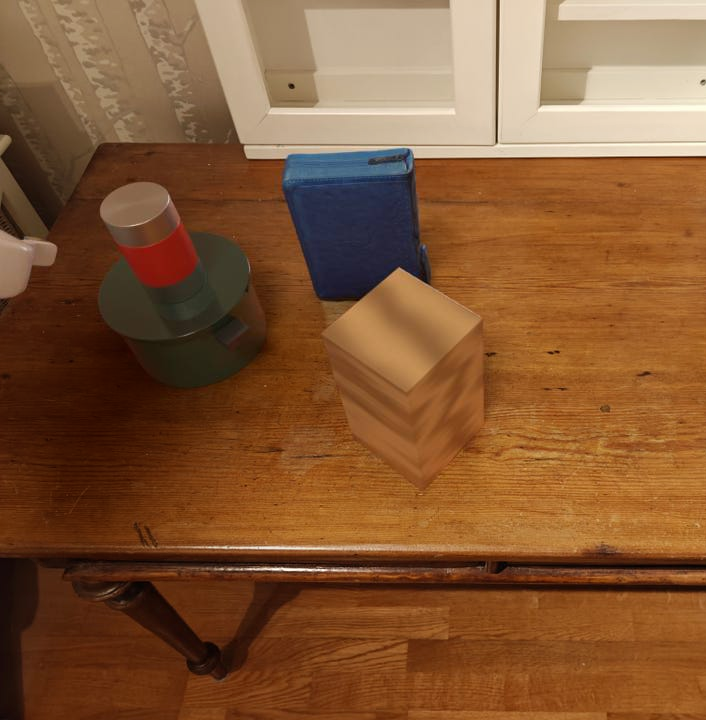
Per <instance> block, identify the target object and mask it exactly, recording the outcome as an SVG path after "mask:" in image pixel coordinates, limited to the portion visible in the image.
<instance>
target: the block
mask: <svg viewBox="0 0 706 720" xmlns="http://www.w3.org/2000/svg"><path fill="white" fill-rule="evenodd" d="M320 335H321V339H322V343H323V345H324V348H325V353H326V355H327V358H328V362H329V364H330V368H331V371H332V374H333V378H334V380H335V384H336V388H337V390H338V394H339V397H340V400H341V403H342V407H343V410H344V413H345V416H346V420H347V422H348V426H349V430H350V432H351V436H352V438H353V440H355V441H356V442H357V443H358V444H360V445H361V446H362V447H364V448H365V449H366V450H368V451H369V452H370V453H372V454H373V455H375V457H377V458H378V459H379V460H381V461H382V462H384V463H385V464H387V465H388V466H389V467H390V468H391V469H392V470H394V471H395V472H397V473H398V474H400V475H401V476H402V477H404V478H405V479H406V480H408V481H409V482H410V483H412V484H413V485H414V486H415V487H417V488H418V489H419V490H421V491H423V492H424V491H425V490H426V489H427V488H428V487H429V486H430V485H431V484H432V482H433V481H435V479H436V478H438V476H439V475H440V474H441V473H442V472H443V470H445V469H446V468H447V466H448V465H449V464H450V463H451V462H452V461H453V459H455V458H456V456H457V455H458V454H459V453H460V452H461V451H462V450H463V449H464V448H465V447H466V445H468V443H469V442H470V441H471V440H472V439H473V438H474V437H475V436H476V435H477V433H478V432H479V431H480V430H481V429H482V428H483V427H484V426H485V386H484V385H485V384H484V383H485V380H484V377H485V376H484V375H485V374H484V373H485V371H484V318H483V317H482V316H480V315H478V314H477V313H475V312H474V311H472V310H470V308H469V309H468V308H467V307H465V306H463V305H462V304H460V303H459V302H457V301H456V300H454V299H452V298H450V297H449V296H446V295H445V294H444V293H442V292H441V291H438V290H437V289H435V288H434V287H432V286H431V285H430V286H429V285H427V284H425V283H424V282H422V281H420V280H419V279H417V278H415V277H414V276H412V275H410V274H409V273H407V272H406V271H404V270H402V269H401V268H398V269H396V270H395V271H394V272H393V273H392V274H390V275H389V276H388V277H387V278H386V279H385V280H383V281H382V282H381V283H380V284H379V285H377V286H376V287H375V288H374V289H373V290H372V291H370V292H369V293H368V294H367V295H366V296H364V297H363V298H362V299H359V301H357V302H356V303H355V304H354V305H353V306H351V307H350V308H349V309H347V310H346V311H345V312H344V313H343V314H342V315H341V316H340V317H338V318H337V319H335V320H334V322H333V323H332V324H330V325H329V326H328V327H326V328H325V329H324V330H323V331H321V333H320Z"/></svg>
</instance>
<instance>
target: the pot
mask: <svg viewBox="0 0 706 720" xmlns="http://www.w3.org/2000/svg"><path fill="white" fill-rule="evenodd" d="M187 233H188V235H189V237H190V239H191V242H192V244H193V246H194V248H195V250H196V252H197V255H198V258H199V260H200V262H201V264H202V266H203V268H204V270H205V273H206V280H205V283H204V285H203V287H202V288H201V290H200V291H199V292H198V293H197V294H195V295H194V296H192V297H191V298H189V299H187V300H185V301H182V302H179V303H174V304H162V303H158V302H155V301H153V300H152V299H150V298H149V297H148V295H147V294H146V292H145V291H144V289H143V287H142V285H141V284H140V282H139V280H138V279H137V278H136V276H135V275H134V273H133V271H132V269H131V268H130V266H129V264H128V263H127V261H126V259H125V258H124V256H123V255H122V256H121V257H120V258H119V259H118V260H117V261H116V262H115V263H114V264H113V265H112V267H111V268H109V270H108V271H107V272H106V274H105V276H104V278H103V279H102V282H101V284H100V287H99V291H98V295H97V305H98V309H99V313H100V315H101V317H102V319H103V320H104V322H105V323H106V324H107V326H108V327H109V328H110V330H112V331H113V332H114V333H116V334H117V335H118V336H120V337H121V338H122V339H123V341H124V343H126V345H127V346H128V348H129V349H130V351H131V352H132V354H133V355H134V357H135V358H136V360H137V362H138V363H139V364H140V366H141V367H142V368H143V370H144V371H145V372H146V373H147V374H148V375H149V376H150V377H151V379H154V380H155V381H157V382H159V383H160V384H163V385H166V386H170V387H174V388H181V389H182V388H183V389H191V388H192V389H194V388H201V387H207V386H210V385H214V384H217V383H220V382H222V381H224V380H227V379H228V378H231V377H232V376H234V375H236V374H237V373H239V372H240V371H242V370H243V369H245V368H246V367H247V366H248V365H249V364H250V363H251V362H252V361H253V360H254V359H255V357H256V356H257V355H258V353H259V352H260V350H261V349H262V347H263V345H264V343H265V339H266V337H267V333H268V321H267V317H266V314H265V311H264V309H263V307H262V304H261V301H260V299H259V297H258V294H257V292H256V289H255V286H254V284H253V281H252V268H251V265H250V262H249V259H248V257H247V255H246V254H245V252H244V250H243V249H242V248H241V247H240V246H239V245H238V244H236V243H235V242H234V241H233V240H231V239H230V238H227V237H225V236H222V235H221V234H217V233H213V232H207V231H196V230H192V231H191V230H190V231H189V230H187Z"/></svg>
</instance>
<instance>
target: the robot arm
mask: <svg viewBox="0 0 706 720" xmlns="http://www.w3.org/2000/svg"><path fill="white" fill-rule="evenodd" d="M57 253H58V247H57V245H56V244H54V243H52V242H50V241H49V240H46V239H45V238H43V237H35V236H34V237H33V236H28V235H26V236H25V235H24V236H23V239H19V238H17V237H15V236H14V235H12V234H10V233H8V232H6V231H5V230H2V229H1V228H0V299H1V300H2V299H9V298H14V297H16V296H18V295H20V294H22V293H23V292H25V291H26V289H27V286H28V283H29V281H30V280H29V279H30V276H31V272H32V267H33V266H37V267H38V266H39V267H50V266H52V265H53V264H54V263H55V261H56V257H57Z"/></svg>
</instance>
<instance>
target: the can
mask: <svg viewBox="0 0 706 720" xmlns="http://www.w3.org/2000/svg"><path fill="white" fill-rule="evenodd" d="M99 216H100V217H101V219H102V221H103V223H104V224H105V226H106V229H108V231H109V233H110V234H111V236H112V239H113V241H114V242H115V244H116V246H117V247H118V249H119V251H120V253H121V254H122V257H123V256H124V258H125V259H126V261H127V263H128V264H129V266H130V268H131V269H132V271H133V273H134V275H135V276H136V278H137V279H138V280H139V282H140V284H141V285H142V287H143V289H144V291H145V292H146V294H147V295H148V297H149V298H150V299H152V300H153V301H155V302H158V303H162V304H174V303H179V302H182V301H185V300H187V299H189V298H191V297H192V296H194V295H195V294H197V293H198V292H199V291H200V290H201V288H202V287H203V285H204V283H205V280H206V273H205V270H204V268H203V266H202V264H201V262H200V260H199V258H198V255H197V252H196V250H195V248H194V246H193V244H192V242H191V239H190V237H189V235H188V233H187V232H188V230H187V228H186V226H185V224H184V223H183V220H182V218H181V216H180V214H179V212H178V210H177V208H176V207H175V204H174V202H173V200H172V198H171V196H170V194H169V192H168V190H167V189H166V188H165V187H164V186H163V185H160V184H158V183H155V182H152V181H151V182H150V181H139V182H138V181H137V182H132V183H128V184H126V185H123V186H121V187H118V188H116V189H115V190H113V191H112V192H110V193H109V194H108V195H107V196H105V198H104V199H103V201H102V202H101V203H100V207H99Z"/></svg>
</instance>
